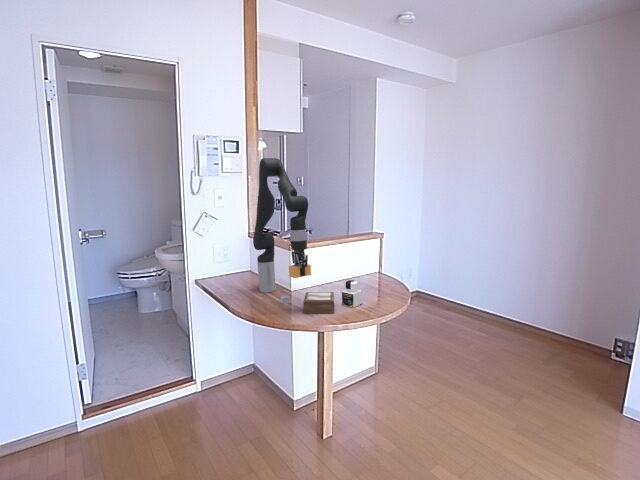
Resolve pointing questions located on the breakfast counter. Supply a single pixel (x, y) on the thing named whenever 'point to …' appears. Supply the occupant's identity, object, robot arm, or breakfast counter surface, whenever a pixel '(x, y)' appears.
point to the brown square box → (319, 303)
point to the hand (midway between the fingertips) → (300, 274)
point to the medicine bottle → (351, 294)
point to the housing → (298, 271)
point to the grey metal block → (285, 299)
